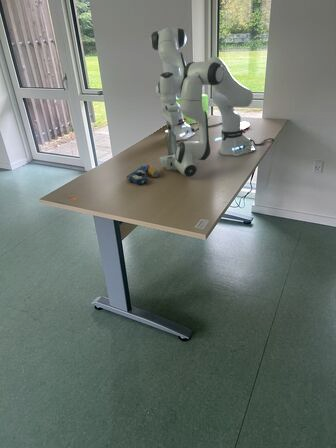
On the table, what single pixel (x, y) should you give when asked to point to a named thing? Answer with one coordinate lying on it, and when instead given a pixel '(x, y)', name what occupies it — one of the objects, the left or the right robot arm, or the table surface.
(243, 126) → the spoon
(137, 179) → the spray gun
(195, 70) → the right robot arm
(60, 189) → the table surface
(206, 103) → the light green block
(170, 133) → the bottle
